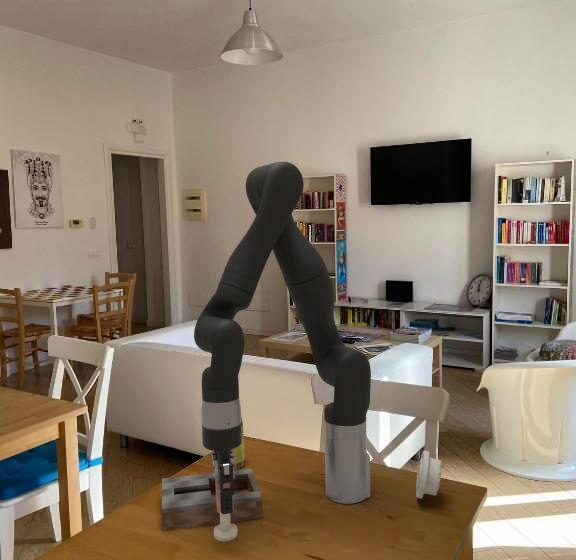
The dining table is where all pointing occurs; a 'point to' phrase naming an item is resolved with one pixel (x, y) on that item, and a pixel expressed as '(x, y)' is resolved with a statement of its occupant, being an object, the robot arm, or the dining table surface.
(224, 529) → the keyhole peg
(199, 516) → the keyhole plate
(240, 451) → the sauce bottle
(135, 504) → the dining table surface
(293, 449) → the dining table surface
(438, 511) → the dining table surface
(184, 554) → the dining table surface
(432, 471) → the mechanical component
